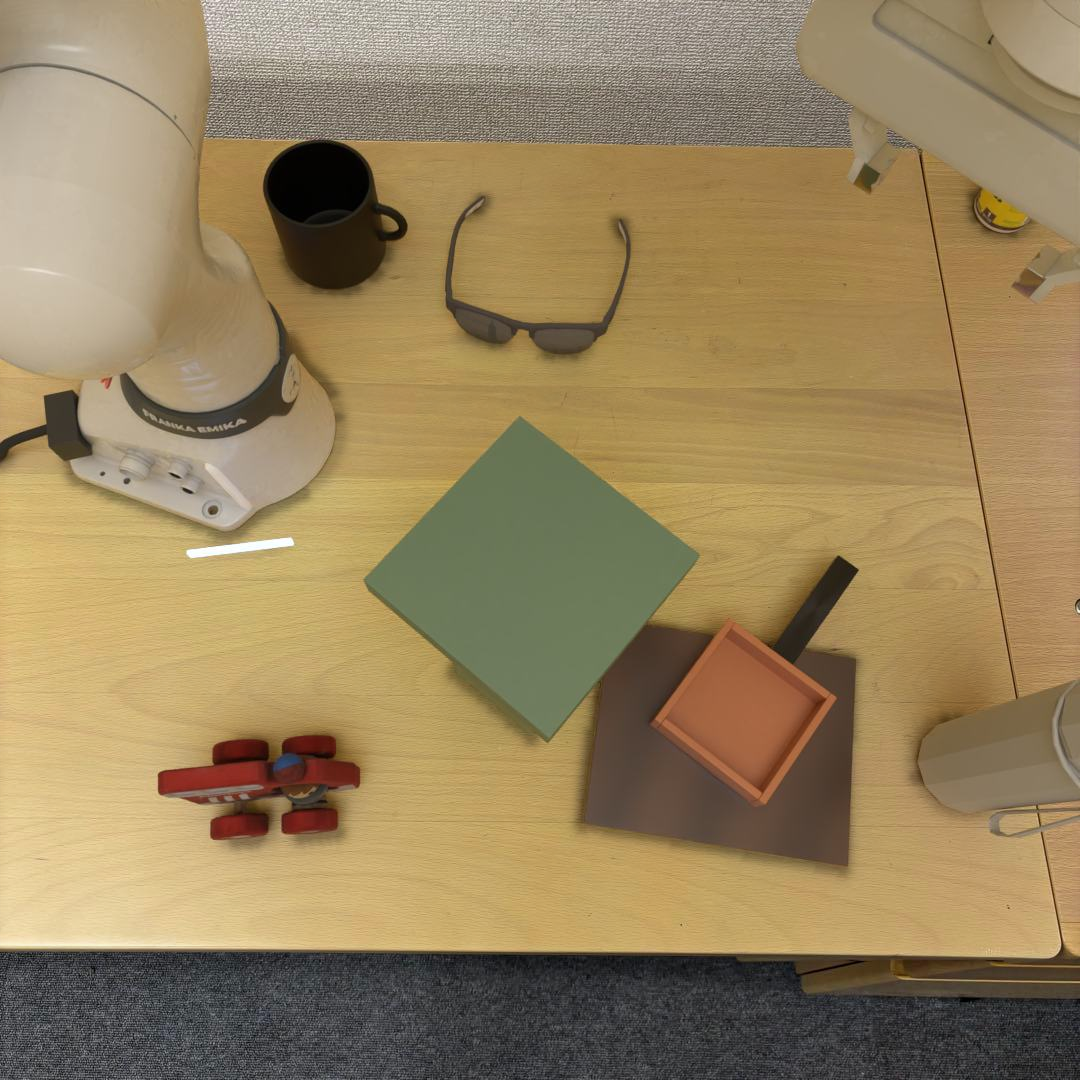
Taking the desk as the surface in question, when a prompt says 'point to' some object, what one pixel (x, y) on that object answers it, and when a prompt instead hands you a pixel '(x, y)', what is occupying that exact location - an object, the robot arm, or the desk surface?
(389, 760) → the desk surface
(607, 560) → the stand
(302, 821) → the toy fire truck
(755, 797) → the pan
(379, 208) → the mug
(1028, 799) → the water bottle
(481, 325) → the sunglasses
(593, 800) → the board
